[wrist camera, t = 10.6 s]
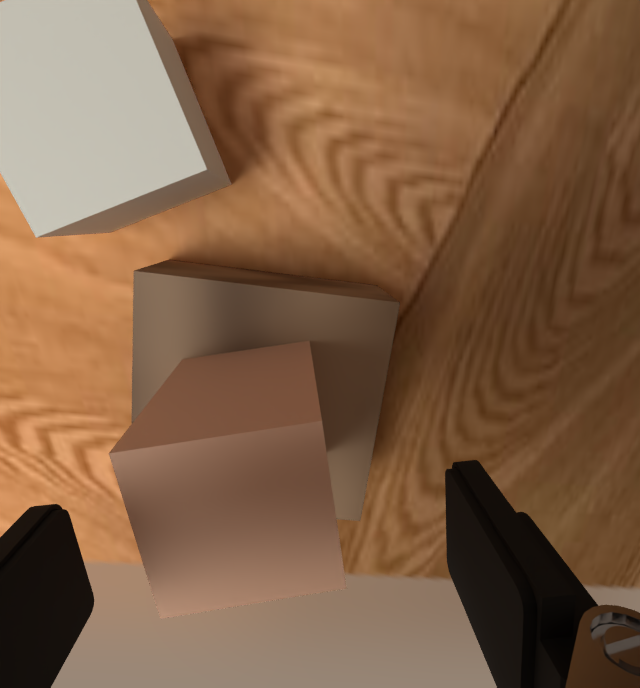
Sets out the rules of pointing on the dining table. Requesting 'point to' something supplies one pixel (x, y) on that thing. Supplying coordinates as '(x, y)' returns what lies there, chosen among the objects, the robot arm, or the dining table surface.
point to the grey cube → (98, 117)
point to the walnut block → (271, 330)
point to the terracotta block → (232, 483)
